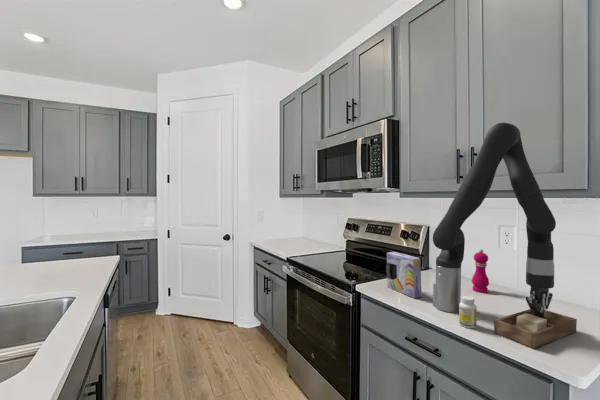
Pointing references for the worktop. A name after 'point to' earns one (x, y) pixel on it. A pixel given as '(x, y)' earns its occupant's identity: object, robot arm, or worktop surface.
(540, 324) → the block
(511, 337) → the divided wooden tray
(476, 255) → the pepper mill
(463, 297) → the supplement bottle
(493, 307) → the worktop surface
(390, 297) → the worktop surface
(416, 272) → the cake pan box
